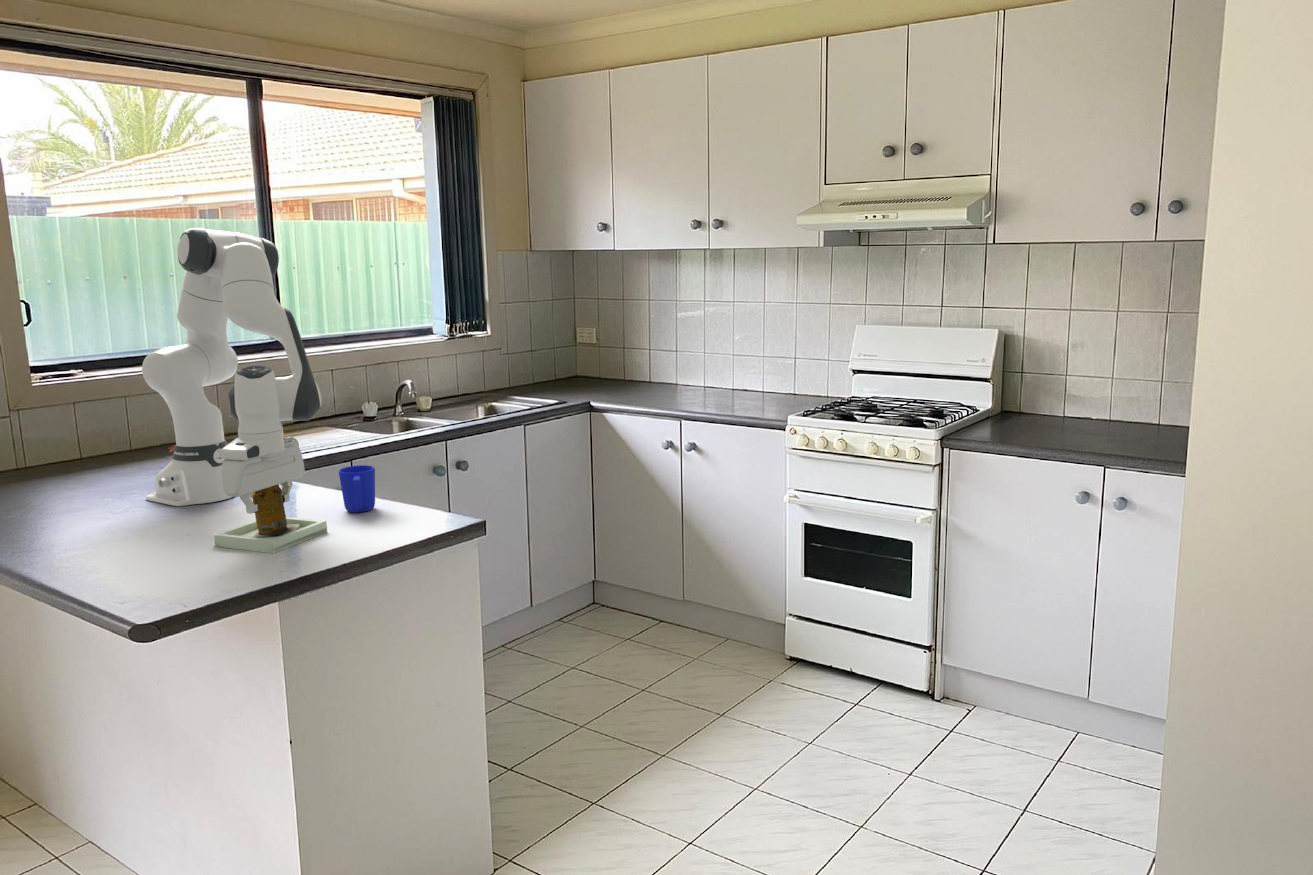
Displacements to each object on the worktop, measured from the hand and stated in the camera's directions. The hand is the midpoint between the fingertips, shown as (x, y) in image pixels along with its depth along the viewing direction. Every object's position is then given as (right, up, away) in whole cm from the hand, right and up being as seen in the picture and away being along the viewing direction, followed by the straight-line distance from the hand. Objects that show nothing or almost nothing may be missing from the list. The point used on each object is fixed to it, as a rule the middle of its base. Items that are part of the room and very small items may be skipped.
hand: (268, 507), depth 213 cm
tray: (0, -7, +1) cm, 7 cm away
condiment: (+1, -6, +3) cm, 6 cm away
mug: (+13, -3, +22) cm, 25 cm away
